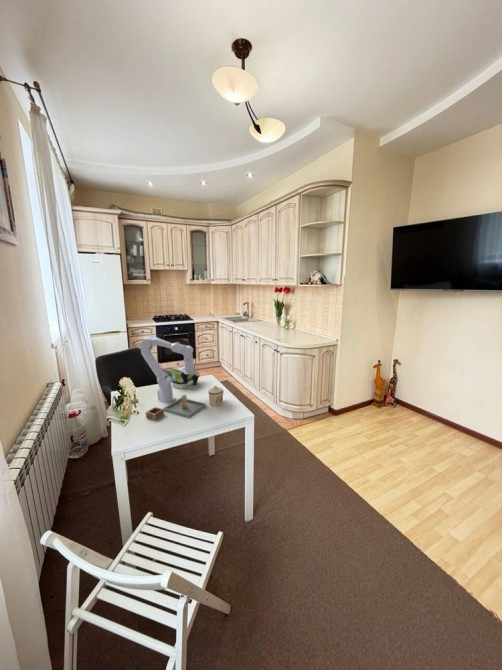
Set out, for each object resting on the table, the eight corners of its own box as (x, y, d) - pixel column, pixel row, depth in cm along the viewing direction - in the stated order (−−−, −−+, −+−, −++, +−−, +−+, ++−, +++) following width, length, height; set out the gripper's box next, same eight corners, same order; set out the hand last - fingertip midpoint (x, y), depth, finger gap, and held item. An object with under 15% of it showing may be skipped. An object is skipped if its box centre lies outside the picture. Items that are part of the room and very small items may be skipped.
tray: (163, 411, 162) (163, 408, 162) (181, 400, 176) (181, 397, 175) (188, 418, 153) (188, 415, 152) (206, 406, 166) (205, 403, 166)
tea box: (182, 389, 193) (180, 370, 190) (172, 387, 198) (170, 368, 195) (196, 382, 206) (194, 363, 203) (186, 380, 211) (184, 362, 207)
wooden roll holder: (146, 418, 154) (145, 412, 154) (156, 413, 160) (155, 406, 160) (155, 421, 151) (154, 414, 150) (164, 415, 157) (163, 409, 156)
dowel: (181, 408, 163) (180, 396, 162) (184, 406, 166) (183, 394, 164) (185, 409, 162) (183, 397, 160) (188, 407, 165) (187, 395, 163)
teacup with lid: (217, 408, 164) (216, 390, 162) (206, 404, 169) (204, 387, 167) (229, 400, 174) (228, 383, 172) (218, 397, 179) (217, 380, 176)
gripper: (176, 365, 172) (178, 385, 175) (193, 368, 165) (195, 388, 168) (183, 362, 178) (185, 381, 181) (200, 364, 171) (202, 384, 174)
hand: (190, 384), depth 175 cm, fingers open, 7 cm apart
